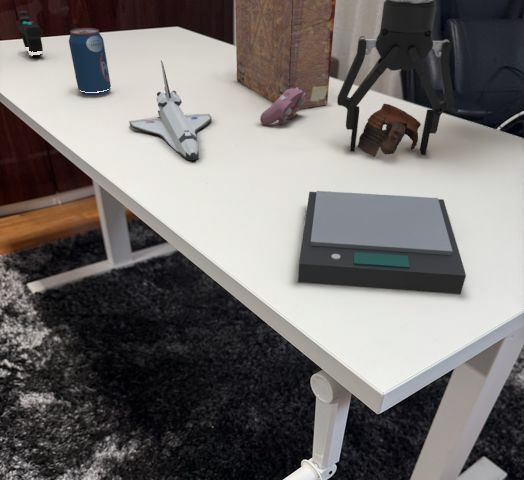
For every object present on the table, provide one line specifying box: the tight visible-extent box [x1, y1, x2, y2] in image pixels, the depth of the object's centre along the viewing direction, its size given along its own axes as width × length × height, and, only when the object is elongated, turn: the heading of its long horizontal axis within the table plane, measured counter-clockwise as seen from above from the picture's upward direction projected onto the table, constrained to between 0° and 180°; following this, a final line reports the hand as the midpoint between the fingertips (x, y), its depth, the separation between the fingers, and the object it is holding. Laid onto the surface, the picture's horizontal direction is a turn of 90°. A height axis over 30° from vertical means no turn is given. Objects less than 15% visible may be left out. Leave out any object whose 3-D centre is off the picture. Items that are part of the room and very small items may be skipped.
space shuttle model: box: [128, 60, 212, 161], centre depth 94 cm, size 16×25×10 cm, turn 18°
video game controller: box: [259, 88, 307, 126], centre depth 103 cm, size 10×5×7 cm, turn 150°
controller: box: [16, 10, 44, 57], centre depth 140 cm, size 4×12×10 cm, turn 31°
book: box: [234, 0, 337, 110], centre depth 109 cm, size 25×9×30 cm, turn 27°
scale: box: [297, 190, 467, 295], centre depth 67 cm, size 18×19×3 cm
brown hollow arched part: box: [356, 103, 422, 158], centre depth 90 cm, size 12×10×8 cm
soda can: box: [68, 27, 112, 98], centre depth 114 cm, size 7×7×12 cm
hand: (387, 150), depth 92 cm, fingers open, 11 cm apart
